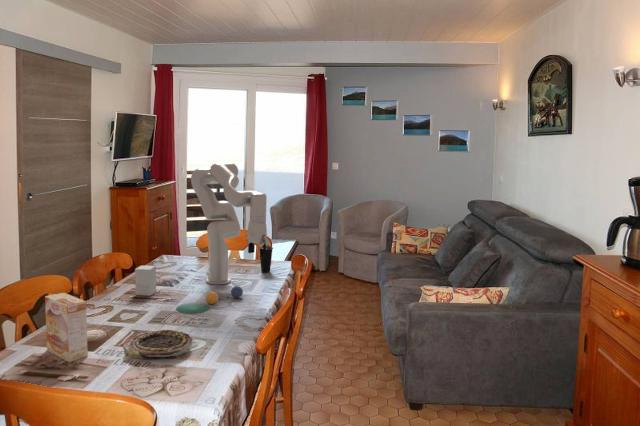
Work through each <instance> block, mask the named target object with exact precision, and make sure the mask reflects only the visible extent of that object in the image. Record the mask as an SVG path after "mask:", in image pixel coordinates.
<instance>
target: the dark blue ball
mask: <svg viewBox="0 0 640 426" xmlns="http://www.w3.org/2000/svg"><path fill="white" fill-rule="evenodd" d="M243 292H244V291H243V288H242V287H241V286H238V285H236V286H233V287H232V288H231V289H230V295H231V296H232V297H233V298H234V299H239V298H241V297H242V296H243Z"/></svg>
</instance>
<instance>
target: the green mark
mask: <svg viewBox="0 0 640 426" xmlns="http://www.w3.org/2000/svg"><path fill="white" fill-rule="evenodd" d="M208 310H210V306H209V305H208V304H205V303H200V302H190V303H188V302H187V303H184V304H180V305H178V306H176V311H177V312H178V313H182V314H187V313H188V314H189V315H193V314H201V313H204V312H207V311H208Z"/></svg>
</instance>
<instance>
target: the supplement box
mask: <svg viewBox="0 0 640 426" xmlns="http://www.w3.org/2000/svg"><path fill="white" fill-rule="evenodd" d="M156 270H157V269H156V265H140V266H138V267H136V268H135V269H134V278H135V280H134V281H135V296H152V295H153V294H155V293H156V292H157V276H156V275H157V273H156Z"/></svg>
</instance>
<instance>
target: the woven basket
mask: <svg viewBox="0 0 640 426" xmlns="http://www.w3.org/2000/svg"><path fill="white" fill-rule="evenodd" d="M192 345H193V337H191V335H190V334H188V333H186V332H183V331H178V330H173V329H161V330H155V331H152V332H148V331H145V332H143V333H139V334H138V335H135V336H134V337H133V338H131V340H130V341H129V342H128V343H127V344H125V345H123V348H125V349H124V351H125V354H126V356H124V357H123V360H124V362H127V360H130V359H131V358H132V359H135V358H136V359H140V360H148V359H151V360H152V359H154V360H155V359H156V360H159V359H162V360H163V359H176V358H177V357H180V355H185V354H187V353H188V351H189V349H190V347H191V346H192ZM131 365H133V364H131Z"/></svg>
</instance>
